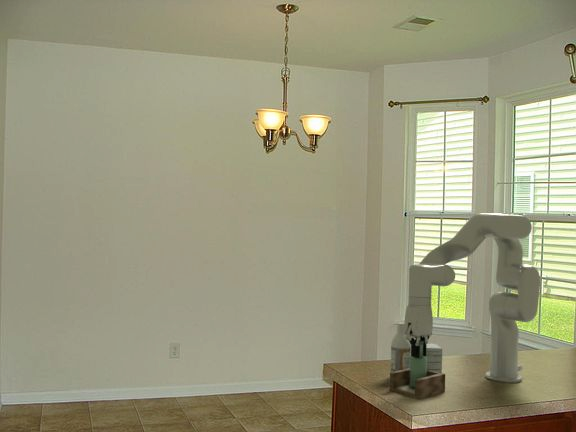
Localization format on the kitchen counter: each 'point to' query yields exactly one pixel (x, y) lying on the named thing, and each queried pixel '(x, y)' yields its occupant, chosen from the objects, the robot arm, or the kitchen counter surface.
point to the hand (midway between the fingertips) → (418, 355)
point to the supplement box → (434, 357)
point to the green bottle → (418, 366)
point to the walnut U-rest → (417, 384)
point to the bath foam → (400, 350)
